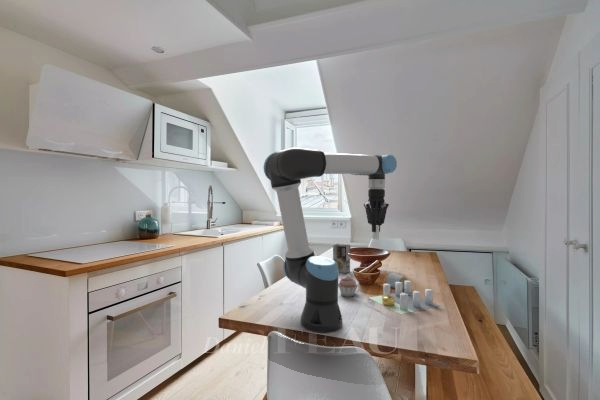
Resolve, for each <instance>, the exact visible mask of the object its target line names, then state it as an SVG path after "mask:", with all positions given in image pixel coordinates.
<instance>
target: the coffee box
mask: <svg viewBox="0 0 600 400" xmlns="http://www.w3.org/2000/svg"><path fill="white" fill-rule="evenodd" d="M348 253H350V254H351V245H350V244H344V243H343V244H342V243H336V244H334V245H332V259H333V260H334V261H336V262H337V264H338V272H339V273H343V274H348V273H350V272H351V257H350V258H349V257H348V256H347V254H348ZM349 271H350V272H349ZM347 272H348V273H347Z"/></svg>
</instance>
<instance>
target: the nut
mask: <svg viewBox="0 0 600 400" xmlns="http://www.w3.org/2000/svg"><path fill="white" fill-rule="evenodd" d="M382 304H383V305H384V306H383V305H382V306H383V307H385V306H389V307H392V306H394V305H395V298H394V297H393V296H389V295H384V296H382Z"/></svg>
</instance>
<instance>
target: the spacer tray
mask: <svg viewBox="0 0 600 400" xmlns="http://www.w3.org/2000/svg"><path fill="white" fill-rule="evenodd" d="M382 289H383V291H382V292H383V293H382V295H376V296H370V297H368V299H370V300H372V301H374V302H376V303H377V304H379V305H381V306H383V307H385V308H387V309H389V310H391V311H392V312H395V313H397V314H399V315H404V314H408V313H409V314H411V313H413V312H419V311H423V310H427V309H433V308H438V307H441V305H440V304H437V303H435V302H434V300H433V299H434V290H433V289H430V288H425V290H424V294H425V296H424V298H423V297H422V293H421V291H418V290H413V291H412V280H407V281H405V289H403V290H402V282H396V284H395V288H394V289H395V292H394V293H391V287H390V284H386V283H383V287H382ZM384 295H389V296H393V297H394V298H395V305H394V306H392V307H389V306H384V305H383V304H382V296H384Z"/></svg>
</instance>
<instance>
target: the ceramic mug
mask: <svg viewBox="0 0 600 400" xmlns="http://www.w3.org/2000/svg"><path fill="white" fill-rule="evenodd" d="M405 281H408V279H407V277H405V276H403V275H401V274H398V273H395V272H390V273H389V274H387V277H386V281H385V284H390V288H391V289H395V284H396V282H402V291H404V289H405Z"/></svg>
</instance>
